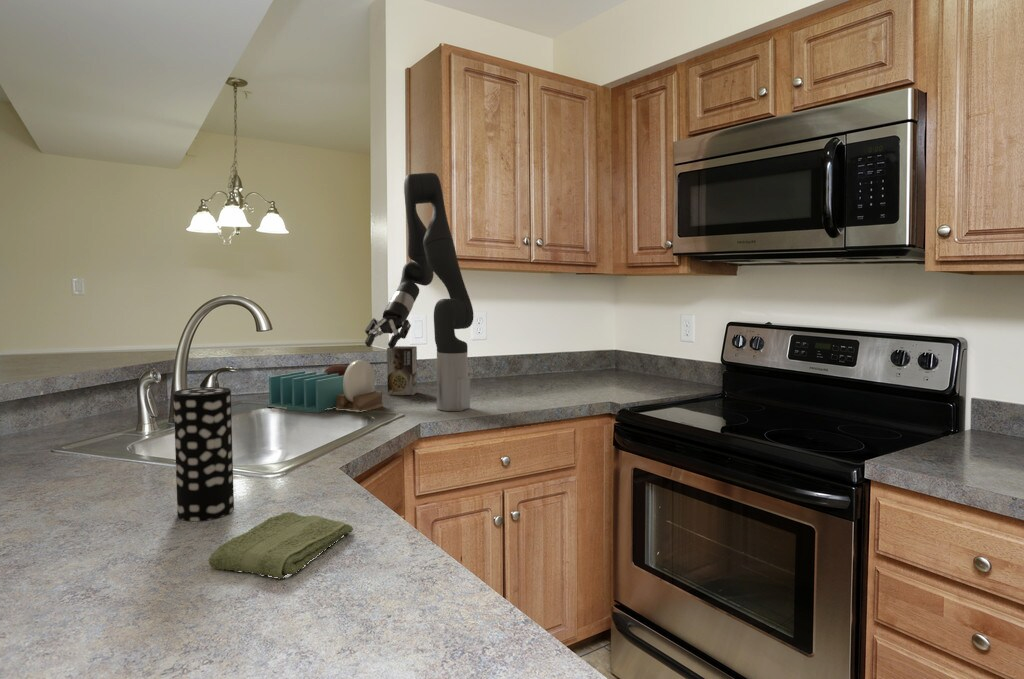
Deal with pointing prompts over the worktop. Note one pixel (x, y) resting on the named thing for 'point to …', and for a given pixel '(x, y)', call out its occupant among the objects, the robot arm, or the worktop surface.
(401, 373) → the coffee box
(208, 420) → the spotted tube
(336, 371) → the muffin
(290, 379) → the rack
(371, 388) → the plate
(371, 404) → the plate stand
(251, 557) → the washcloth
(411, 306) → the robot arm
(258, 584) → the worktop surface
